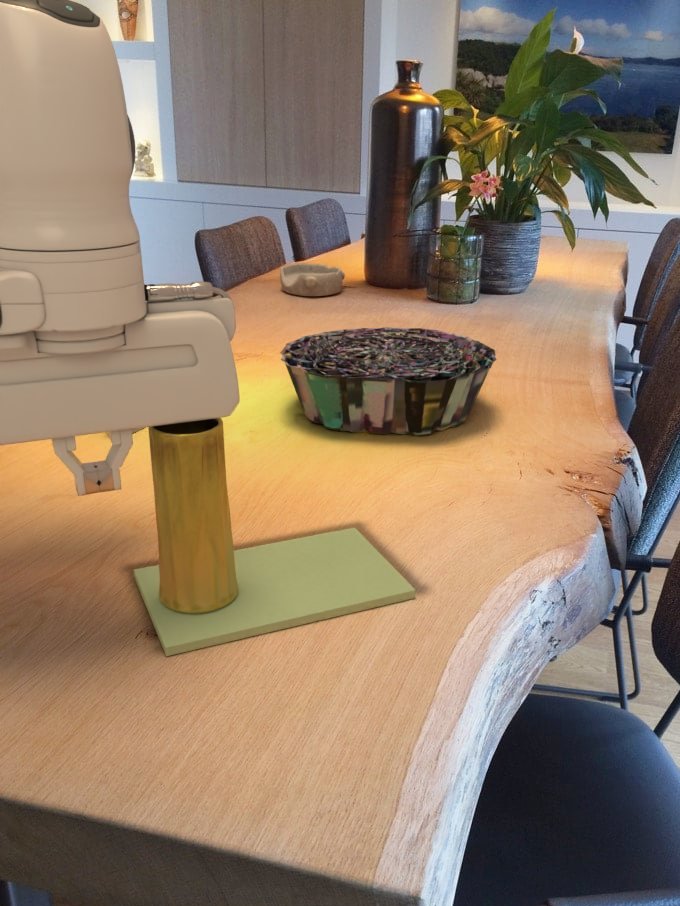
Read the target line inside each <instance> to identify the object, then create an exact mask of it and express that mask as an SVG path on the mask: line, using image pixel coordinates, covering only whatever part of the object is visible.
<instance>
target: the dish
mask: <svg viewBox="0 0 680 906" xmlns="http://www.w3.org/2000/svg"><path fill="white" fill-rule="evenodd" d="M345 276H346V274H345V271H343V270H342V269H341V268H340V267H338V266H332V267H330V266H328V265H326V264H320V263H305V262H304V263H301V262H300V263H291V264H287V265H284V266H281V267H280V269H279V280H280V285H281V288H282V290H283V291H284V292H285V293H287V294H291V295H294V296H300V297H302V296H303V297H322V296H323V297H324V296H330V295H336V294H338V293H340V292H341V291H342V288H343V281H344V280H345Z"/></svg>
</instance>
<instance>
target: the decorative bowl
mask: <svg viewBox="0 0 680 906" xmlns="http://www.w3.org/2000/svg"><path fill="white" fill-rule="evenodd" d="M279 353H280V354H281V355H282V356H281V358H280V360H281V361H282V362H283V363H284V364H285V367H286V369H287V372H288V375H289V378H290V380H291V383H292V385H293V388H294V391H295V393H296V396H297V399H298V401H299V404H300V407H301V409H302V412H303V414H304V416H305V417H306V418H307V420H308V421H309V422H310V423H314V424H322V425H323V427H325V428H326V429H328V430H332V431H336V432H349V433H354V434H355V433H369V434H371V435H383V436H384V435H385V436H386V435H389V434H391V433H392V434H400V435H406V434H407V435H410V436H415V437H418V436H424V435H432V434H433V433H434V432H435V431H444V430H446V429H448V428H455V427H459V426H460V425H461V424H462V423H464V422H465V421H466V419H467V417H468V416H469V415H470V413H471V412H472V409H473V407H474V404H475V402H476V400H477V398H478V396H479V393H480V392H481V390H482V387H483V385H484V382H485V380H486V378H487V376H488V374H489V371H490V369H492V365H493V364H494V362H496V361H497V358H496V350H495V349H493V348H492V347H490V346H488V345H487V344H485V343H483V342H480V341H479V340H475V339H472V338H471V337H469V336H467V335H463V334H457V333H453V332H446V331H442V330H438V329H430V328H420V327H413V328H412V327H411V328H406V327H405V328H404V327H388V326H385V327H362V328H361V327H360V328H346V329H345V328H344V329H343V328H342V329H337V330H330V331H324V332H320V333H315V334H308V335H304V336H302V337H301V336H300V338H297V339H295V340H292V341H290V342H288V343H286V344H285V346H284V347H283V348H282V350H280V352H279Z"/></svg>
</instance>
